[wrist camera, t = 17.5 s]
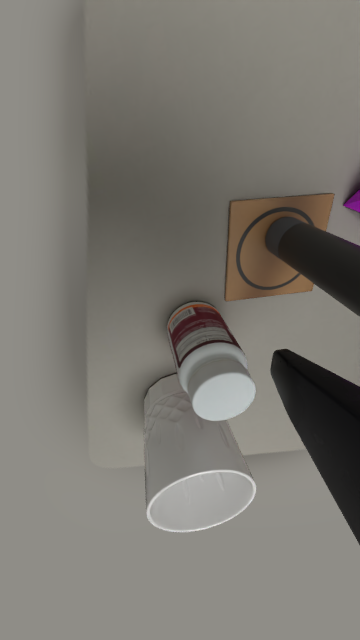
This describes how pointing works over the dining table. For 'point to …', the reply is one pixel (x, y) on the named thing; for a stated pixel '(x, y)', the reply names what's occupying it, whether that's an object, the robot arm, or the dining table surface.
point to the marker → (318, 258)
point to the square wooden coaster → (251, 251)
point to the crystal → (354, 202)
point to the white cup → (190, 464)
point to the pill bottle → (209, 362)
